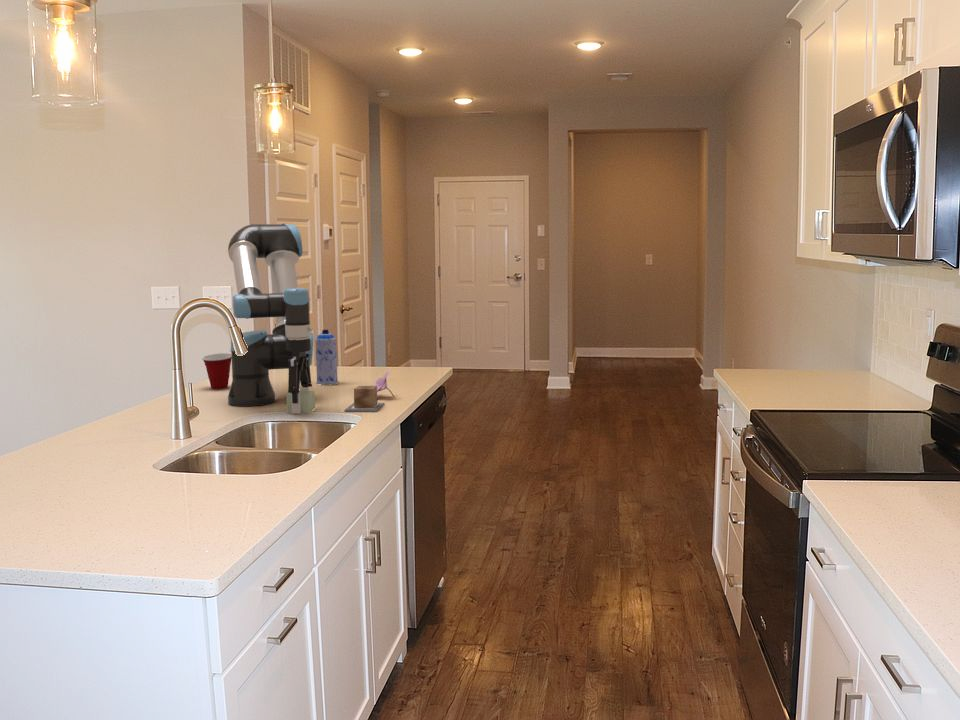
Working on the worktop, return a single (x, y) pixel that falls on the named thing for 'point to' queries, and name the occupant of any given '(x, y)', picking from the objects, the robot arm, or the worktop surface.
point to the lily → (382, 382)
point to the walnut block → (365, 396)
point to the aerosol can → (326, 358)
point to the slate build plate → (352, 409)
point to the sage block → (303, 402)
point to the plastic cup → (218, 369)
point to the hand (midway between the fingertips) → (300, 410)
